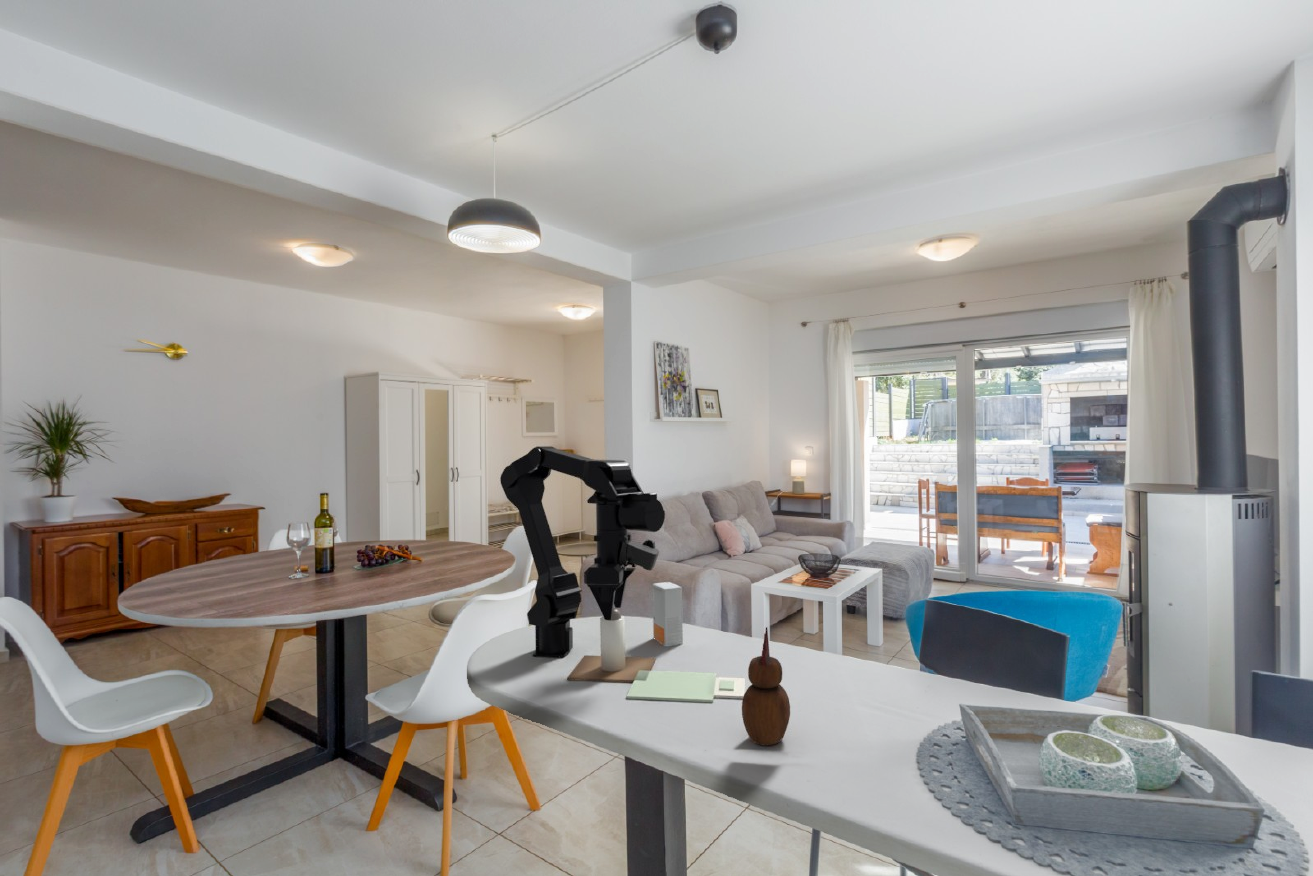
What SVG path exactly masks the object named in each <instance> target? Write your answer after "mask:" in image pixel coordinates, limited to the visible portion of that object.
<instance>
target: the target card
mask: <svg viewBox="0 0 1313 876" xmlns="http://www.w3.org/2000/svg"><path fill="white" fill-rule="evenodd" d="M714 678H715V677H714ZM711 679H712V677H711ZM711 681H712V680H711ZM711 683H712V682H711ZM712 684H713V683H712ZM711 687H712V686H711ZM709 691H710V690H709ZM711 691H712V690H711ZM713 692H714V693H713V694H714V698H716V699H717V698H719V699H721V698H722V699H737V700H738V699H740V700H741V699H742V700H743V697H744V694H745V692H746V678H744V677H720V676H719V677H718V676H717V677H716V682H715V689H714V690H713ZM709 695H710V694H709Z"/></svg>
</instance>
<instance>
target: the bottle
mask: <svg viewBox="0 0 1313 876" xmlns="http://www.w3.org/2000/svg"><path fill="white" fill-rule="evenodd" d="M625 618H626V617H625V616H624V615H622V614H621V612H620V610H619V609H618V608H615V607H613V612H612V618H611V620H605V619H604V616H603V615H602V616H601V617H600V619H599V620H600V621H599V622H600V623H599V629H600V633H599V635H600V656H601V669H602V670H604V671H609V672H615V671H620V670H623V669H625V667H626V663H625V657H626V629H625V628H626V620H625Z"/></svg>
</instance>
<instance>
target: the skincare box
mask: <svg viewBox="0 0 1313 876" xmlns="http://www.w3.org/2000/svg"><path fill="white" fill-rule="evenodd" d="M652 618H653V619H652V623H653V625H652V627H653V628H652V629H653V633H652V634H653V638H655V639H656V640H657V642H658V641H659V642H660V643H659V642H658V643H659V644H660V645H662V644H663V645H664V646H663V645H662V646H663V647H665V646H667V647H673V645H674V646H678V644H680V645H683V644H684V638H683V635H684V634H683V632H684V630H683V627H684V626H683V587H682V586H679V585H678V584H676V583H673V582H671V581H665V582H663V581H662V582H656V583H652ZM655 639H654V640H655ZM656 640H655V641H656Z"/></svg>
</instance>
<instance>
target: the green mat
mask: <svg viewBox="0 0 1313 876" xmlns="http://www.w3.org/2000/svg"><path fill="white" fill-rule="evenodd" d="M643 672H645V670H643V671H642V674H641V672H640V670H639V672H638V674H637V675H638V677H636V678H639V677H640V678H642V677H643V675H644V673H643ZM648 672H649V673H648ZM640 674H641V675H642V677H641V676H640ZM717 675H718V674H717V672H697V671H695V672H693V671H668V670H666V671H665V670H651V671H647V670H646V675H644V676H646V681H645V679H644V678H642V679H643V680H644V681H643V680H641V681H640V680H639V679H637V680H636V679H635V680H634V682H633V683H632V684H631V686H630V688H629V691H628V693H627V694H626V699H630V700H631V699H633V700H649V701H651V700H652V701H670V702H671V701H673V702H674V701H675V702H695V703H696V702H697V703H714V694H713V693H714V692H713V690H714V689H715V682H716V677H718V676H717ZM647 676H648V677H647ZM711 677H712V679H711ZM714 677H715V678H714ZM711 680H712V681H711ZM711 682H712V683H713V684H712V683H711ZM711 686H712V687H711ZM709 690H710V691H709ZM711 690H712V691H711ZM709 694H710V695H709Z"/></svg>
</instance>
